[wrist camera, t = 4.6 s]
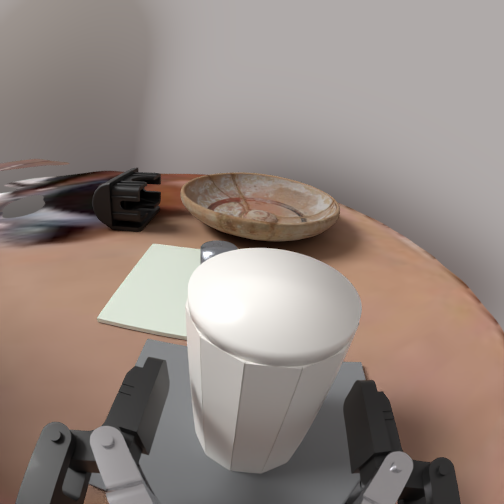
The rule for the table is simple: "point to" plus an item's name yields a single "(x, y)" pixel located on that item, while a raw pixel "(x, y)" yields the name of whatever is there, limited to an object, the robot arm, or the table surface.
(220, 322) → the white lidded canister
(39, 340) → the table surface
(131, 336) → the table surface
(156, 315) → the board
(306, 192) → the ceramic bowl
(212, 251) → the peg
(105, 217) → the end cap
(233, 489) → the mat
